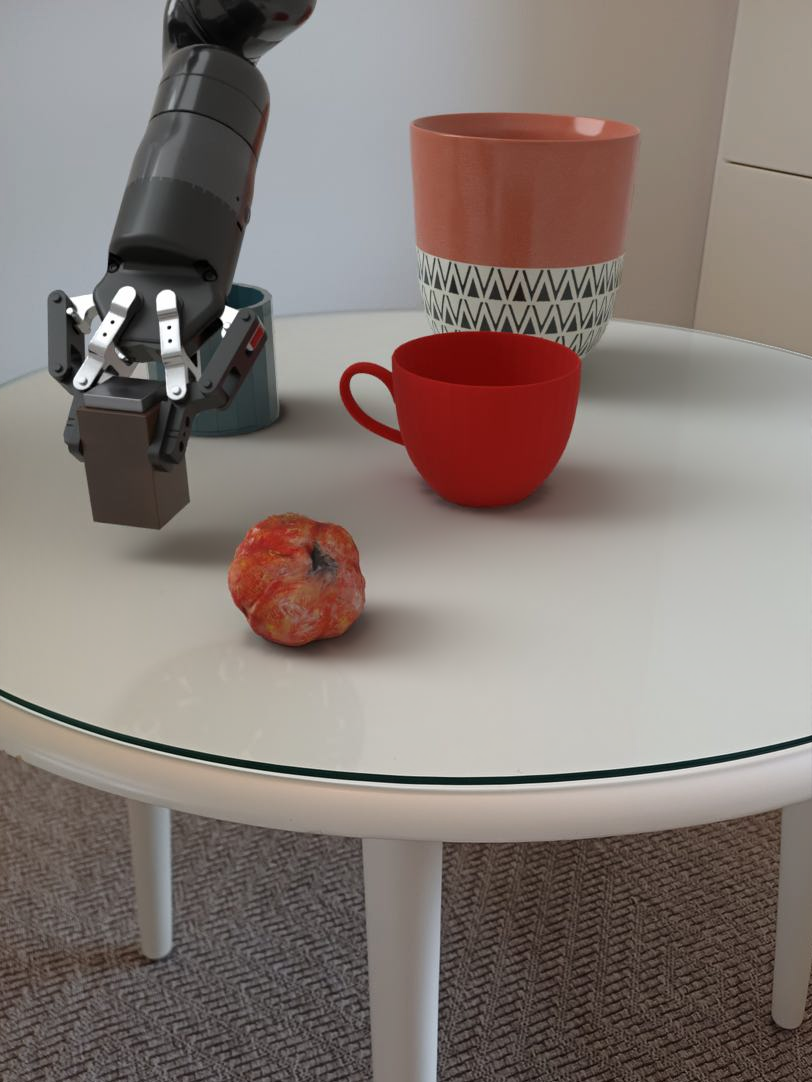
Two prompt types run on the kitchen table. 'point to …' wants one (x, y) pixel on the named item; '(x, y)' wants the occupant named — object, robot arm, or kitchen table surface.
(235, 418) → the crock
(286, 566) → the pomegranate
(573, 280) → the planter
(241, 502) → the kitchen table surface
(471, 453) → the ceramic cup
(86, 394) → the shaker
